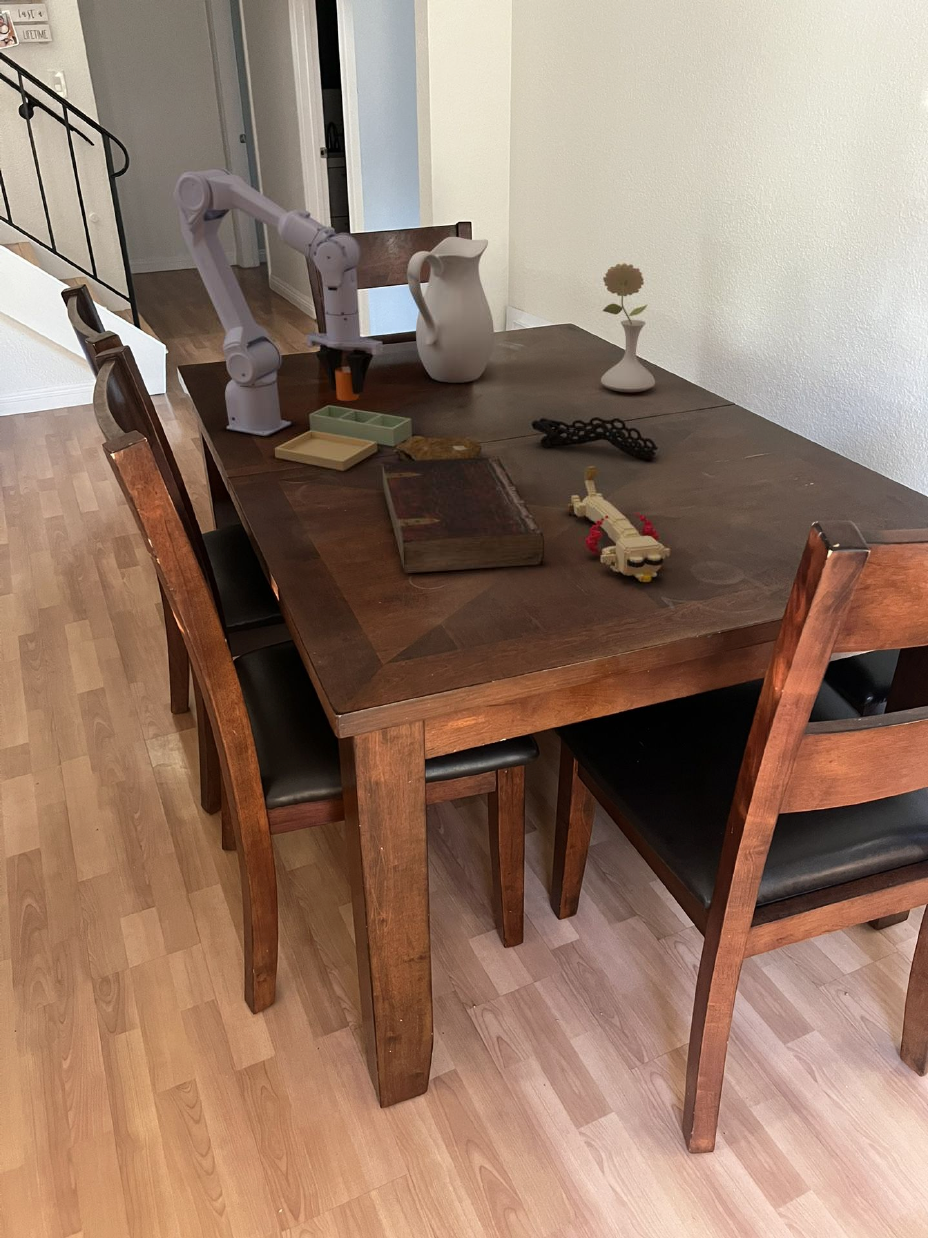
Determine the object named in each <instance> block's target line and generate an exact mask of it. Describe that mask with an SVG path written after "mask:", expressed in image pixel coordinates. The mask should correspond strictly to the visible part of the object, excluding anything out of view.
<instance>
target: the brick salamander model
mask: <svg viewBox="0 0 928 1238" xmlns="http://www.w3.org/2000/svg"><path fill="white" fill-rule="evenodd" d="M583 477H584V483H585V489H586V491H587V494H588V495H586V497H584V498H583V500H582V501H581V499H580V496H579V495H576V494H575V495H571V496H570V497H571V501H570V503H567V505H566V510H567V511H568V512H570V514H571V515H573V516H577V517H578V518H584V517H586V518H587V519H589V521H591V522H593V523H595V524H593V525H592V526H591V527H589V535H587V537H586V538H585V539H584V540H585V541H584V545H585V546H586V547H587V549H588V551H589V552H592V553H594V555H596V556H599V557H600V563H601V564H605V565H606V566H607V565H608V566H609V565H610V566H609V568H610V569H611V570H612V571H613V572H616V573H622V574H623V575H624V576H627V577H630V576H634V577H635V578H636V579H637V580H638V581H639V582H642V583H648V582H651V581H652V578H655V577H658V573H657V572H658V571H659V570H660V569H661V567H662V564H663V563H664V559H666V558H667V557H670V555H671V549H670V548H669V547H667V548H666V547H665V546H664V545H663V544H662V543H661V542H659V537H660V536H659V534H657V530H656V529H654V528H653V525H652V524H653V523H652V522H651V520H650V519H647V516H645V515H643V514H639V513H638V512H634V516H635V517H638V518H640V522H644V526H642V527H641V534H642V535H641V534H640V533H639V530H638V529H637V528H636V527H635V526H634V525H632V524H631V521H630V520H629V518H627V517H626V516H625V515H624V514H623V513H622V512H620V510H618V509H617V508H616V507H615V506H614V505H613V504H611V503H610V502H609V501H608V500H606V499H604V497H603V494H602V493H600V492H599V493H597V490H596V485H595V481H594V479H595V478H596V477H597V469H596V466H595V465H587V467H586V468H585V471H584V476H583ZM599 527H601V528H602V529H603V530H604V532H606V533H607V536H608V538H610V539H611V540H612V542H613V543H615V545H612V546H607V547H603V548H602V549H601V553H599V548H598V547H597V546H598V541H599V540H601V539H602V538H603V534H602V531H601V530H598V529H599ZM612 563H614V565H612Z"/></svg>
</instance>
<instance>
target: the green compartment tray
mask: <svg viewBox="0 0 928 1238" xmlns="http://www.w3.org/2000/svg"><path fill="white" fill-rule="evenodd" d="M308 418H309V429H310V430H312V431H318V432H324V433H329V434H335V435H340V436H346V437H352V438H357V439H363V440H368V441H374V442H377V445H384V446H389V447H396V446H397V445H398V444H400V443H403V442H405V441H406V440H407V438H408V437H411V436H413V433H412V432H413V429H412V418H410V417H403V416H398V415H391V414H386V413H385V414H384V413H380V412H379V413H378V412H373V411H366V410H362V409H361V410H360V409H354V408H348V407H341V406H337V405H330V404H329V405H326V406H324V407H322V408H320V409H318V410H316V411H314V412H311V413H310V414H308ZM310 430H309V431H310Z"/></svg>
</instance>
